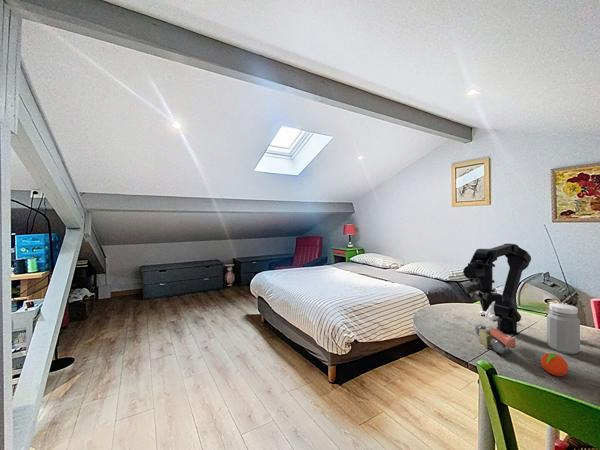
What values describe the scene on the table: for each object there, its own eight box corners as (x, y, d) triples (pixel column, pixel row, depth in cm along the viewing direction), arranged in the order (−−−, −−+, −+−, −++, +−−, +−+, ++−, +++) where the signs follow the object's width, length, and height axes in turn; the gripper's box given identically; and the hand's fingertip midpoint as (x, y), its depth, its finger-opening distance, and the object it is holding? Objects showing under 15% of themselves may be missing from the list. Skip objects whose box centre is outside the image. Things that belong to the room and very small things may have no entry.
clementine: (559, 383, 88) (560, 361, 88) (534, 372, 95) (534, 352, 94) (572, 377, 91) (572, 356, 91) (547, 367, 98) (547, 347, 98)
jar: (541, 346, 113) (542, 304, 113) (554, 342, 117) (554, 301, 117) (572, 357, 104) (573, 311, 104) (584, 352, 108) (585, 307, 108)
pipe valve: (472, 334, 125) (472, 323, 125) (487, 335, 124) (487, 324, 124) (495, 356, 105) (495, 342, 105) (513, 358, 104) (513, 344, 104)
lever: (483, 330, 117) (483, 322, 117) (493, 330, 116) (493, 323, 116) (507, 348, 100) (507, 339, 100) (518, 348, 100) (519, 340, 100)
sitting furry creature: (477, 314, 151) (477, 293, 151) (491, 313, 152) (491, 292, 152) (491, 320, 142) (491, 298, 141) (506, 320, 143) (506, 297, 142)
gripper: (457, 272, 132) (457, 303, 132) (474, 281, 114) (474, 317, 114) (482, 273, 130) (482, 305, 131) (504, 282, 112) (503, 319, 112)
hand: (484, 311), depth 122 cm, fingers closed
